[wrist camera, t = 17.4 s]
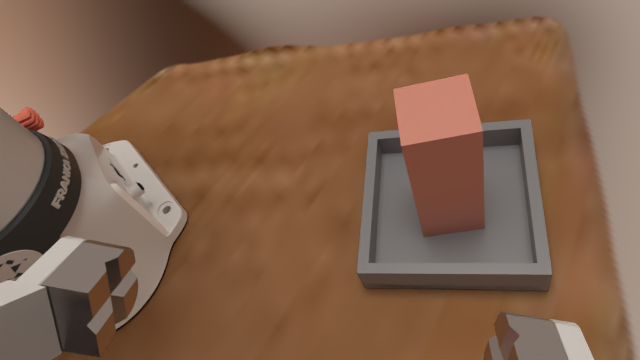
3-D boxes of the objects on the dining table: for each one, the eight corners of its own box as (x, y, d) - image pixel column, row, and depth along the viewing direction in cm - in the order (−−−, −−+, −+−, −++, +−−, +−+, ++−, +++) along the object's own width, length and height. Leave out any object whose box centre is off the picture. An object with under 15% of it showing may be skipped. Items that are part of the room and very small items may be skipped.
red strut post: (423, 237, 38) (401, 146, 28) (416, 187, 40) (393, 89, 31) (484, 228, 36) (482, 131, 27) (473, 178, 39) (467, 73, 30)
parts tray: (547, 290, 34) (552, 274, 31) (365, 287, 38) (356, 273, 35) (528, 141, 40) (530, 119, 38) (375, 152, 44) (368, 132, 42)
